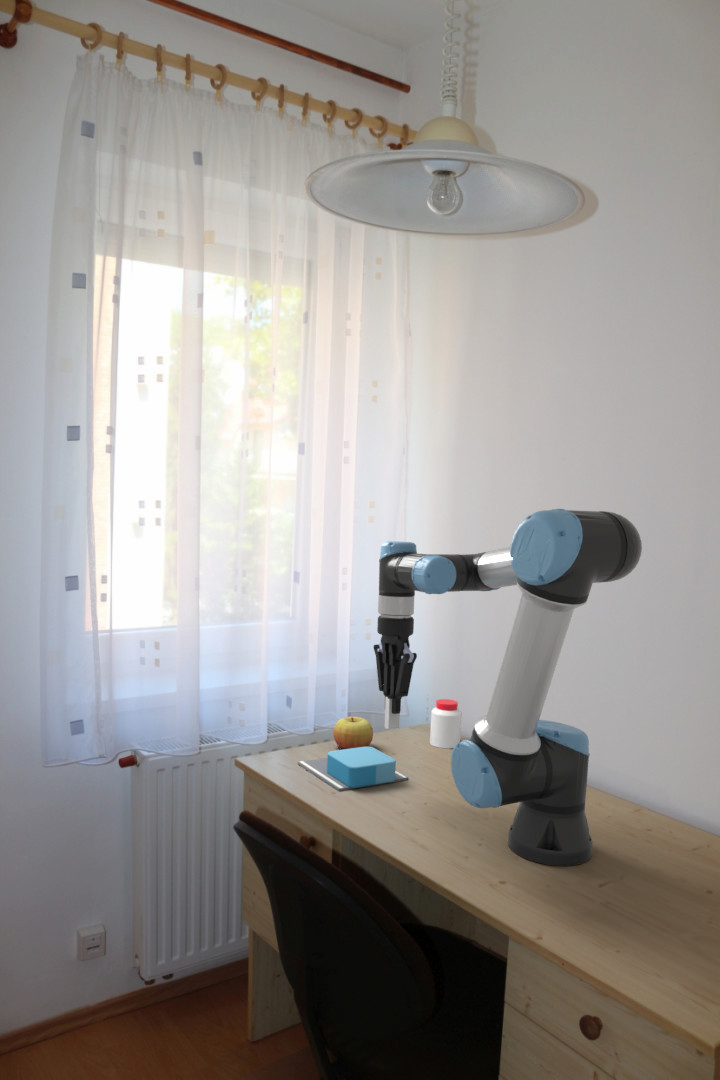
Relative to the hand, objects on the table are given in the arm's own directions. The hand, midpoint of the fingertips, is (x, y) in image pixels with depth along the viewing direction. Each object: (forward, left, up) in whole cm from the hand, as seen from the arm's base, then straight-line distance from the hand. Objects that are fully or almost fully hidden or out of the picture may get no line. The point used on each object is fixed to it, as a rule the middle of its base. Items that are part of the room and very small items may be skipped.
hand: (391, 727), depth 180 cm
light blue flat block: (+6, 0, -12) cm, 13 cm away
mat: (+17, -1, -15) cm, 22 cm away
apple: (+32, -10, -15) cm, 36 cm away
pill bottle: (+26, -34, -15) cm, 45 cm away
